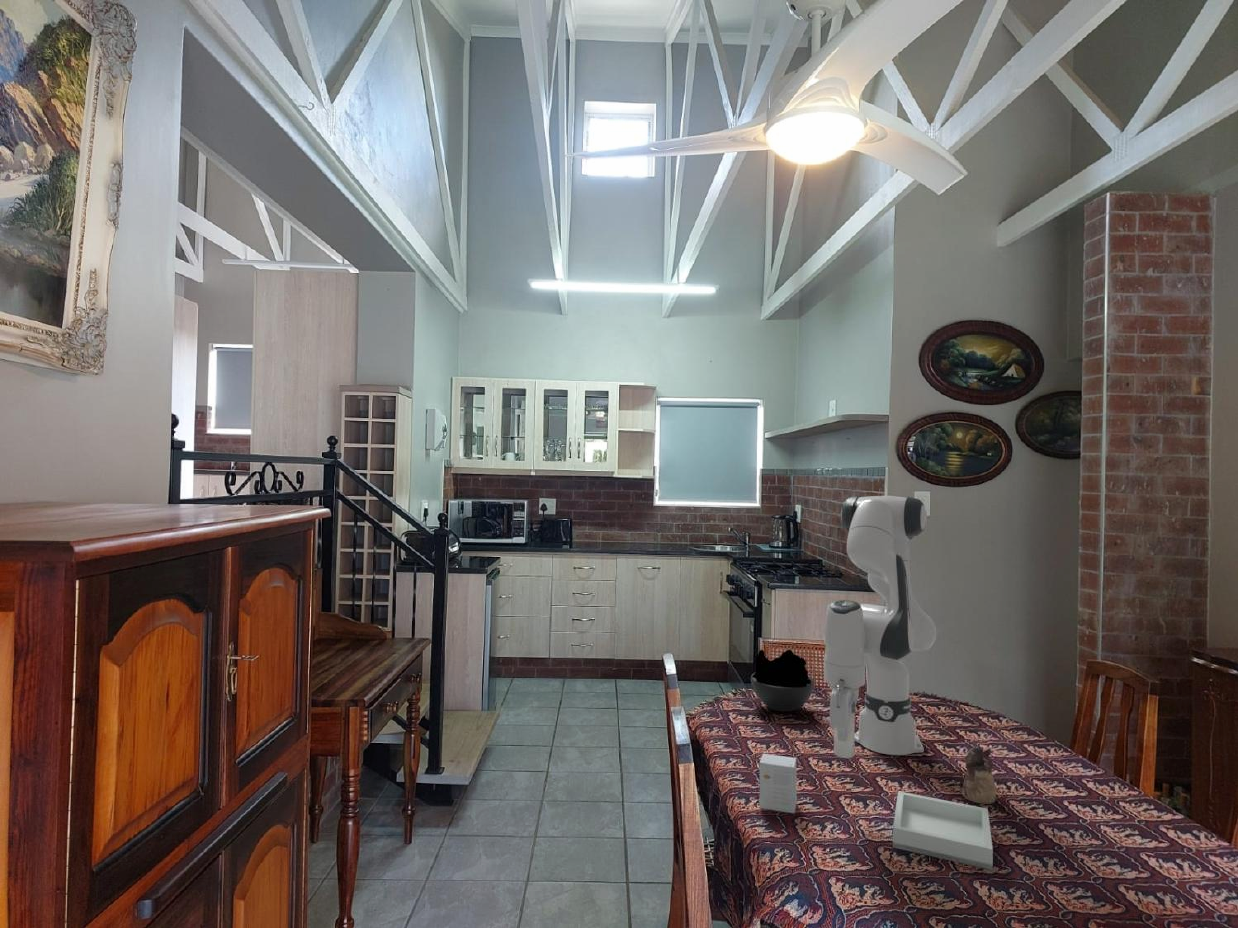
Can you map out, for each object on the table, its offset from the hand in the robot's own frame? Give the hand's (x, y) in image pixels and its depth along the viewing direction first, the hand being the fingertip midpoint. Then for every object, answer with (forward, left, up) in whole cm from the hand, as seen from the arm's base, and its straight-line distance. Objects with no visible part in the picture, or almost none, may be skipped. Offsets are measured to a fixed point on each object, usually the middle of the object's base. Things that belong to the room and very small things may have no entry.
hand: (844, 735), depth 154 cm
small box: (+3, -14, -18) cm, 23 cm away
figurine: (-23, +28, -18) cm, 40 cm away
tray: (+1, +20, -17) cm, 27 cm away
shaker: (0, 0, -4) cm, 4 cm away
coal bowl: (-62, -27, -18) cm, 70 cm away
